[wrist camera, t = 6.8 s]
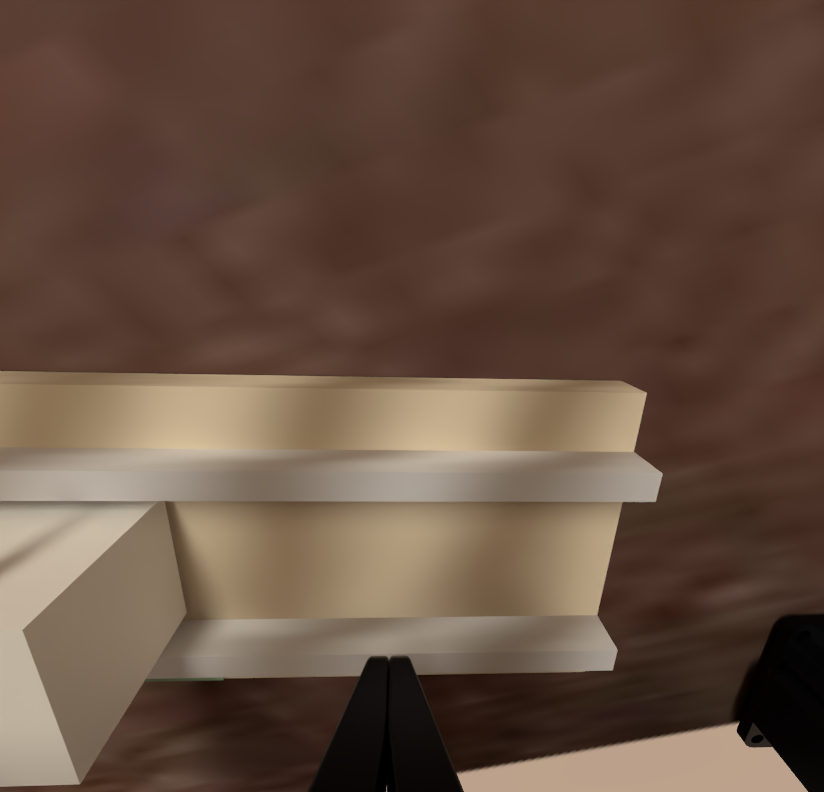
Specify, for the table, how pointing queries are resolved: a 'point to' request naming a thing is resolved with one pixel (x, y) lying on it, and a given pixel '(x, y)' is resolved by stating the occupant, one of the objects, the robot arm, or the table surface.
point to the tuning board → (352, 510)
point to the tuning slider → (78, 627)
